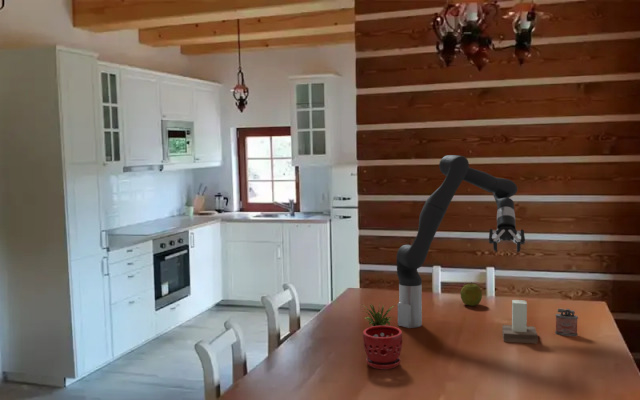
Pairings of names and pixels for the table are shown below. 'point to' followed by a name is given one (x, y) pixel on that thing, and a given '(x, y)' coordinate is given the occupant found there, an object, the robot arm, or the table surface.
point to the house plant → (378, 317)
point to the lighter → (566, 323)
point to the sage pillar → (519, 316)
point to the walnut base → (519, 335)
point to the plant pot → (383, 346)
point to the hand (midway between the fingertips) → (507, 251)
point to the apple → (471, 294)
